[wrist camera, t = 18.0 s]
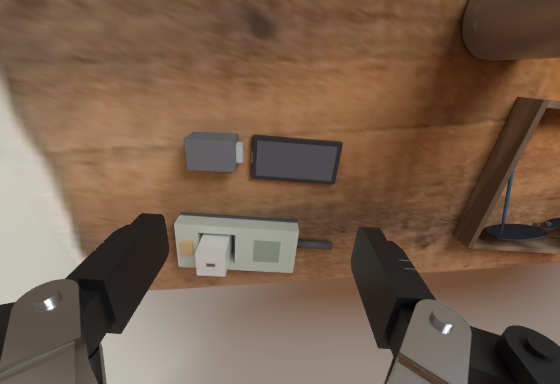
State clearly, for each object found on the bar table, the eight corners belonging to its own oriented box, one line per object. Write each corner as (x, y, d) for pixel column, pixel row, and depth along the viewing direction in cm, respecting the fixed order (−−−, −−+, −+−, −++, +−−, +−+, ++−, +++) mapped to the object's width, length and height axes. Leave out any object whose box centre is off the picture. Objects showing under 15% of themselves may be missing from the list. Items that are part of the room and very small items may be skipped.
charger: (231, 229, 39) (224, 254, 34) (231, 249, 41) (225, 276, 36) (205, 227, 39) (194, 253, 34) (207, 248, 41) (196, 275, 35)
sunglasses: (475, 228, 41) (501, 243, 36) (487, 137, 36) (518, 141, 32) (583, 216, 41) (624, 230, 36) (610, 122, 36) (660, 124, 31)
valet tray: (655, 111, 34) (694, 115, 31) (562, 242, 43) (585, 255, 40) (517, 96, 33) (544, 99, 29) (452, 234, 42) (467, 248, 39)
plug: (244, 133, 34) (240, 141, 30) (244, 162, 36) (241, 172, 32) (193, 131, 34) (183, 138, 30) (196, 160, 35) (187, 170, 32)
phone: (340, 141, 35) (342, 143, 34) (332, 180, 37) (334, 184, 36) (252, 134, 34) (252, 136, 33) (251, 175, 37) (250, 178, 36)
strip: (334, 222, 40) (339, 236, 37) (325, 261, 44) (330, 277, 40) (181, 212, 39) (172, 226, 35) (185, 253, 42) (177, 269, 39)
